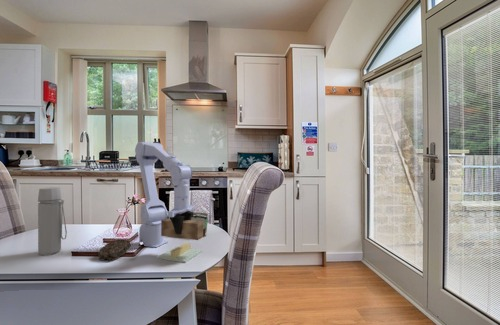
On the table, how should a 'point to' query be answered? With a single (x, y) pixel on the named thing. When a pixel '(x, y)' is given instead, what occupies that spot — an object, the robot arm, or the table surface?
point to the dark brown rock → (114, 250)
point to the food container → (201, 217)
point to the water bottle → (50, 221)
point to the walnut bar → (183, 229)
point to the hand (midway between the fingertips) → (181, 232)
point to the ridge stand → (180, 253)
